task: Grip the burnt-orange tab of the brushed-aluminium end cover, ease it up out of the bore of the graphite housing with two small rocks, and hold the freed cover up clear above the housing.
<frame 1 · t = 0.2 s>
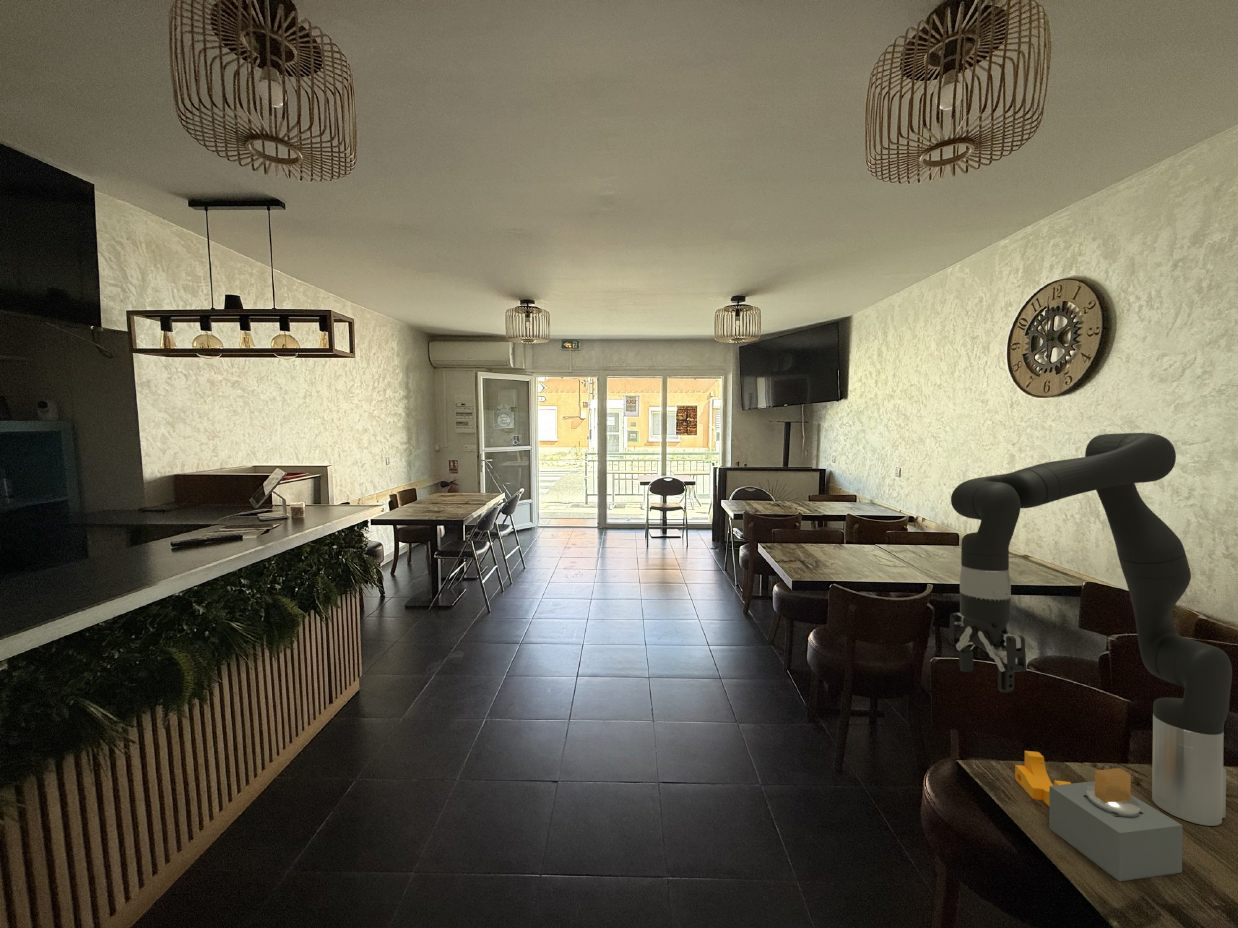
hand: (984, 680, 94), 29 cm above the table, tool pointing down, fingers open, 8 cm apart
pipe clamp: (1043, 800, 105), on the table
bearing housing: (1111, 849, 92), on the table
end cover: (1112, 821, 91), point 5 cm above the table, touching bearing housing
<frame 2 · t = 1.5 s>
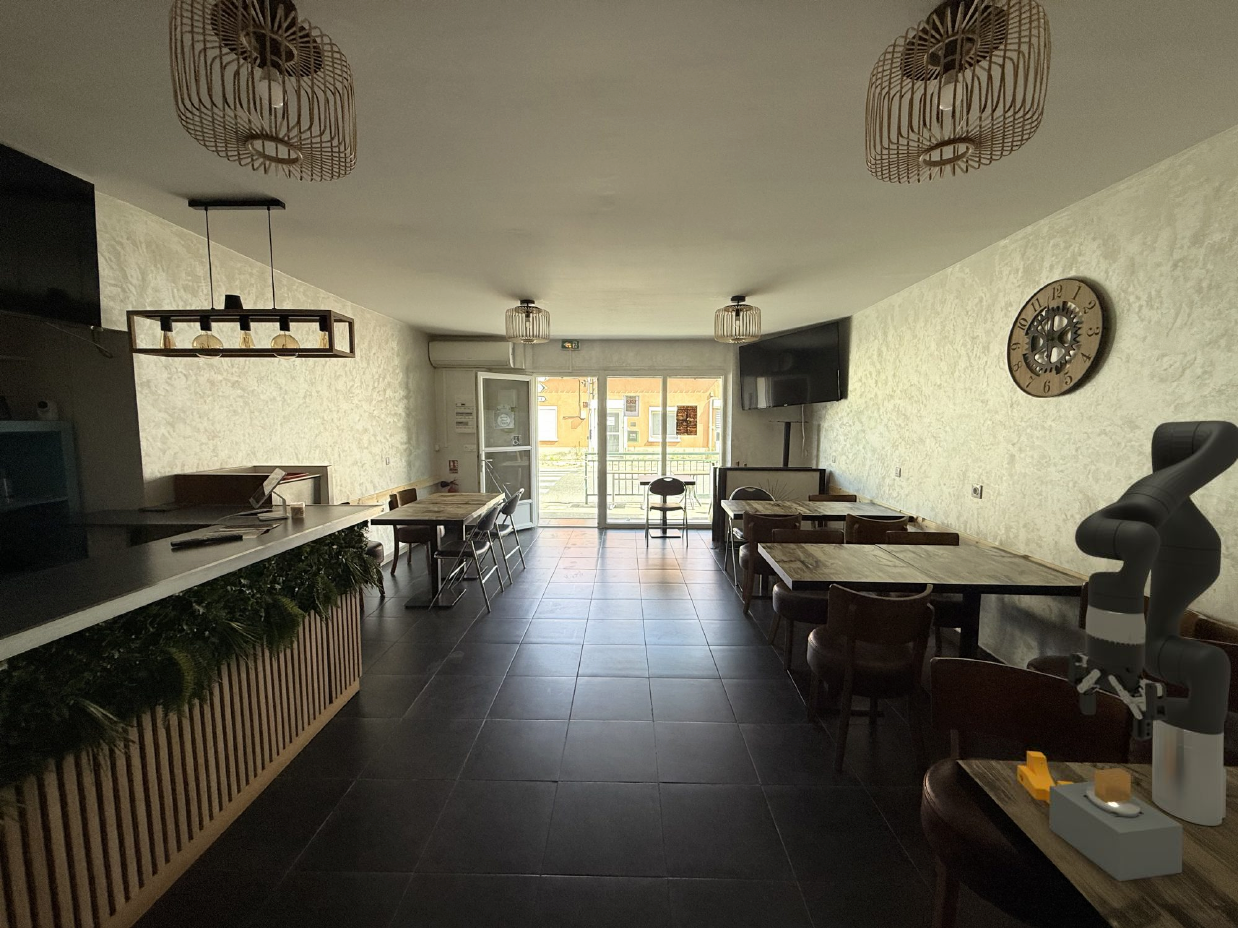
hand: (1113, 725, 91), 22 cm above the table, tool pointing down, fingers open, 8 cm apart
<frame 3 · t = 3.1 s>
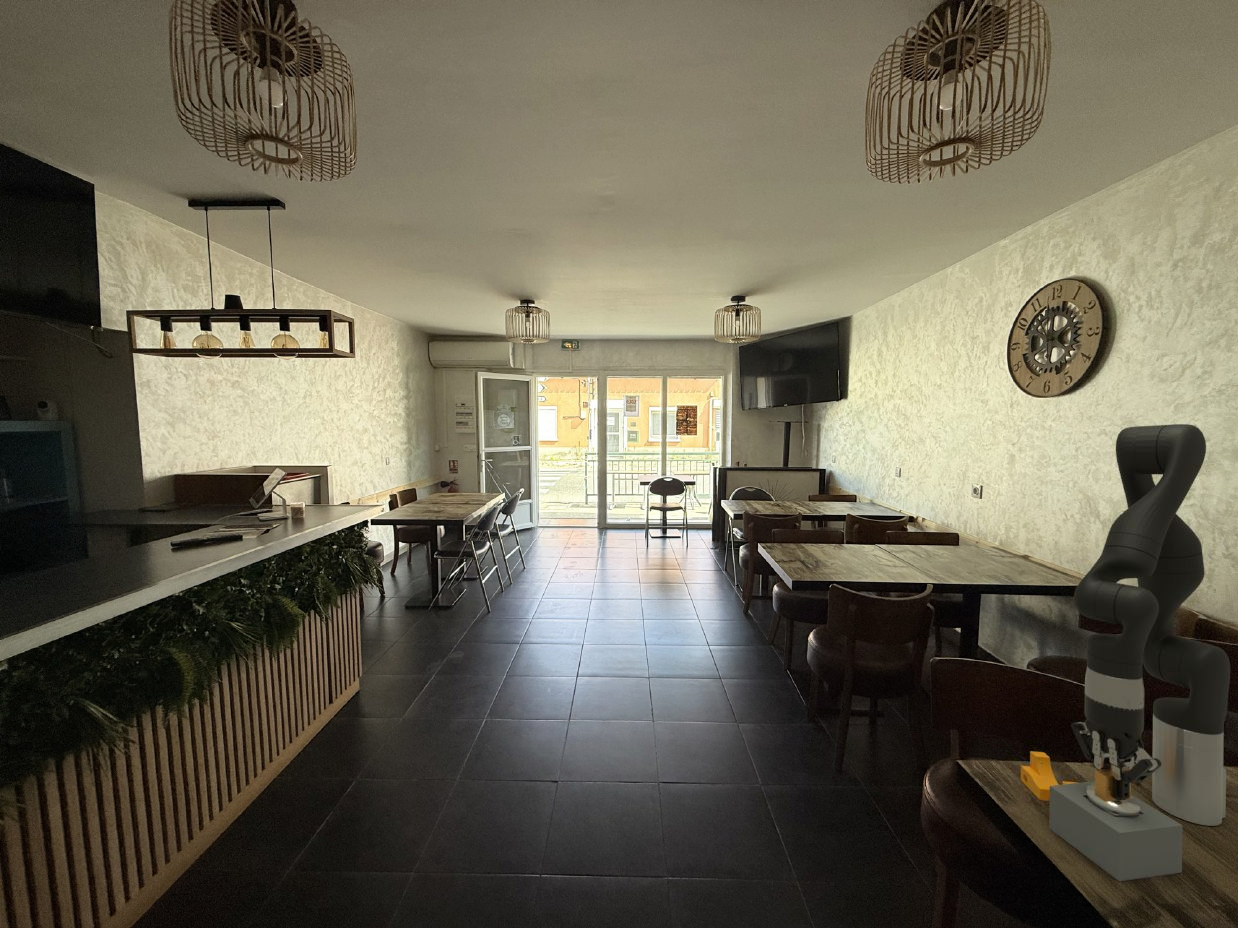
hand: (1112, 794, 91), 10 cm above the table, tool pointing down, fingers closed on end cover
end cover: (1112, 820, 91), point 5 cm above the table, touching gripper
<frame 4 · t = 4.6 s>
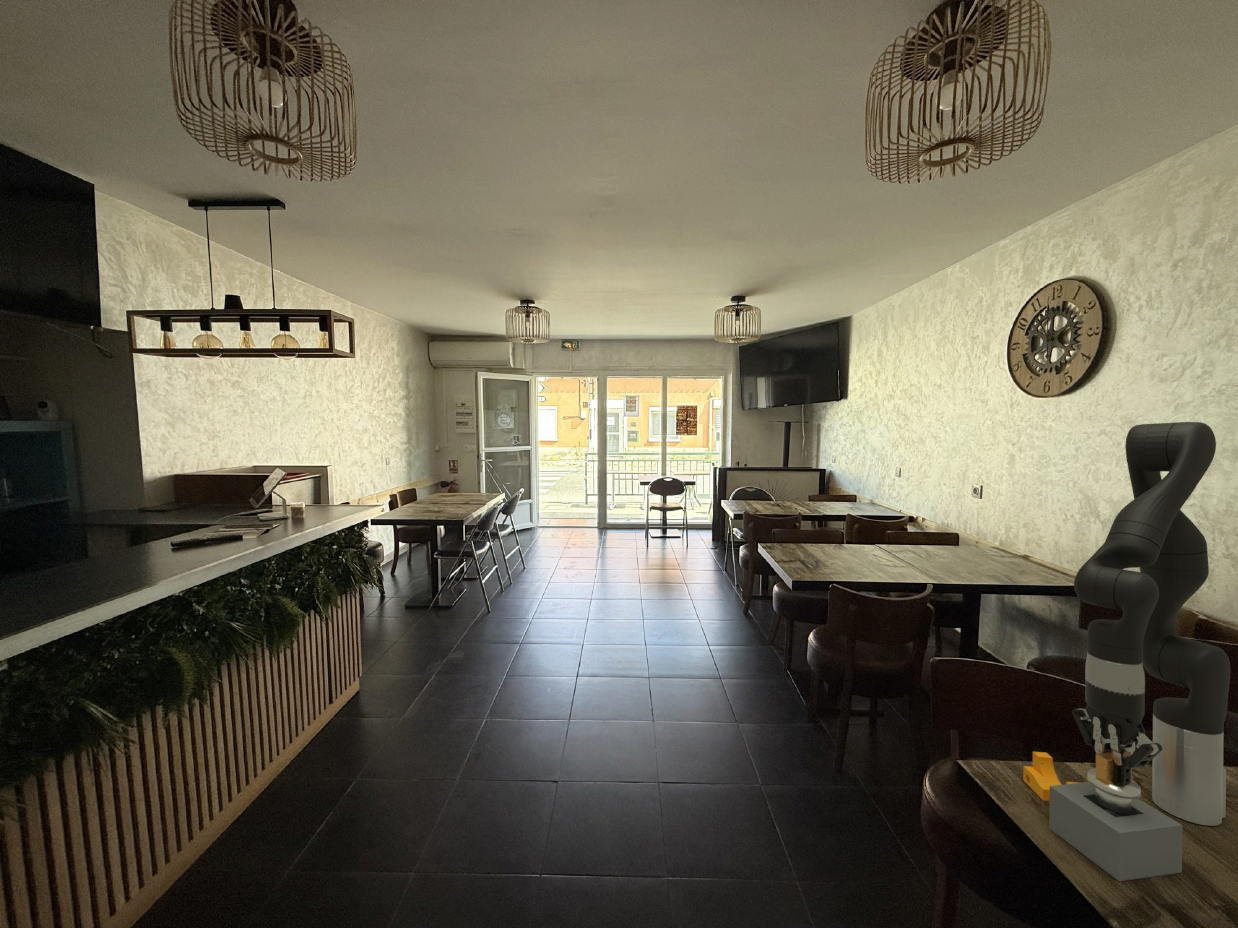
hand: (1113, 779, 91), 12 cm above the table, tool pointing down, fingers closed on end cover
end cover: (1113, 803, 91), point 8 cm above the table, touching gripper
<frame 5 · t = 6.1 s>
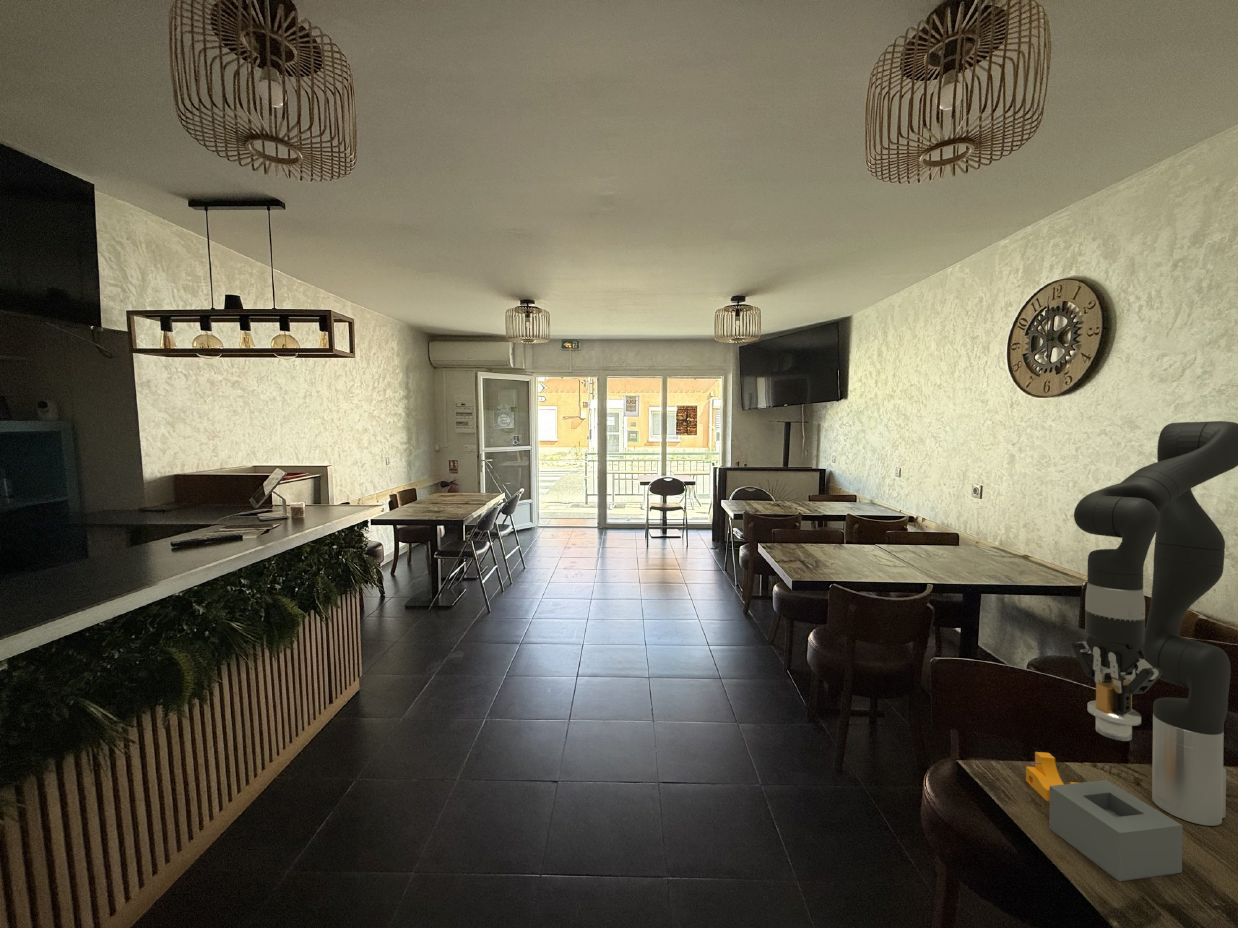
hand: (1113, 709, 91), 25 cm above the table, tool pointing down, fingers closed on end cover
end cover: (1113, 733, 91), point 21 cm above the table, touching gripper
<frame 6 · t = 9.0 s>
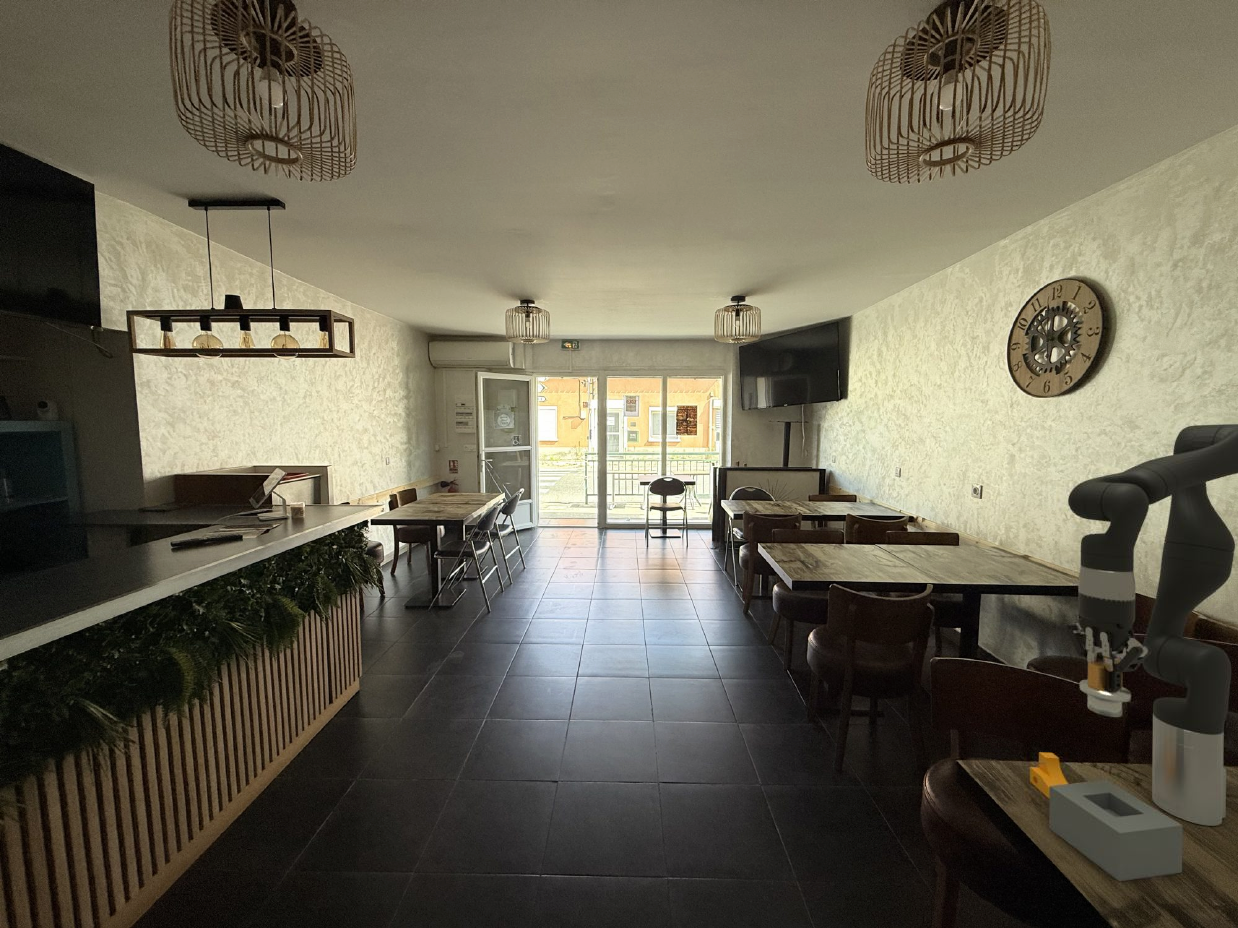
hand: (1105, 687, 95), 27 cm above the table, tool pointing down, fingers closed on end cover
end cover: (1104, 710, 95), point 23 cm above the table, touching gripper
at the end: end cover inside the target area (0.6 cm from its centre), point 22.7 cm above the table; the gripper is holding end cover; end cover moved 18.1 cm from its start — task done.
